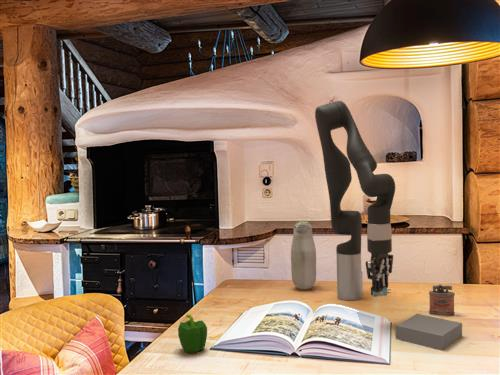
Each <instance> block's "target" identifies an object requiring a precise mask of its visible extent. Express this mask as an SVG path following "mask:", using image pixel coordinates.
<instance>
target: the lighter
mask: <svg viewBox="0 0 500 375" xmlns="http://www.w3.org/2000/svg"><path fill="white" fill-rule="evenodd" d="M428 295H429V310H428V314H429V315H432V316H440V317H454V316H455V315H456V314H455V313H456V312H455V296H456V295H455V292H453V286H452V285H449V284H448V285H442V283H439V284H437V285H436V284H435V285H433V284H432V290H429V291H428Z"/></svg>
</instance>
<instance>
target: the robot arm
mask: <svg viewBox="0 0 500 375" xmlns="http://www.w3.org/2000/svg"><path fill="white" fill-rule="evenodd" d="M314 118H315V119H314V120H315V124H316V128H317V134H318V137H319V141H320V147H321V151H322V156H323V157H322V158H323V166H324V167H323V168H324V174H325V180H326V181H325V182H326V185H327V190H328V191H327V192H328V198H329V208H330V210H329V211H330V223H331V229H332V231H333V233H334V234H335V235H341V236H350V239H349V240H347V241H345V242H341V243H339V244H337V245H336V248H335V249H336V250H335V251H336V254H335V255H336V295H337V298H338V299H340V300H344V301H358V300H361V299H362V298H363V294H364V291H363V288H364V287H363V271H362V227H363V225H362V224H363V223H362V221H363V219H362V215H361V212H360V211H359V210H344V209H343V210H342V209H341V204H342V200H343V198H344V196H345V194H346V192H347V191H348V189H349V187H350V185H351V183H352V178H353V177H352V170H351V166H352V167H353V168H354V171H356V176H357V179H358V182H359V186H360V189H361V191H362V193H364V195H366V196H368V197H369V198H376V199H375V201H374V203H372V204H370V205H369V206H368V207H367V227H366V228H367V229H366V233H367V234H366V237H367V238H366V239H367V240H366V241H367V243H366V244H367V247H366V248H367V252H368V253H370V255H371V256H370V260H366V261H365V269H366V277H367V280H371V287H372V291H373V292H379V291H380V283H379V278H380V274H381V273H382V268H383V265H384V267H387V273H386V274H384V276H385V287H387V289H389V277H390V274H392V272H393V263H394V255H393V254H390V253H391V252H392V250H393V245H392V244H393V241H392V240H393V239H392V233H393V232H392V225H391V210H392V206H393V205H392V204H393V200H394V197H395V193H396V182H395V179H394V178H393V176H392V175H390V174H389V173H379V174H378V173H377V174H374V172H375V171H376V169H377V167H378V163H377V160H376V158H375V157H374V156H373V154H372V153H371V151H370V150H369V148H368V147H367V145H366V144H365V141H364V140H363V138H362V135H361V134H360V131H359V129H358V126H357V124H356V122H355V119H354V117H353V115H352V113H351V111H350V109H349V108H348V106H347V104H346V103H345V102H344V101H342V100H336V101H332V102H329V103H325V104H322V105H319V106H317V107H315V111H314ZM341 128H344V130H345V132H346V136H347V139H346V140H347V141H346V151H345V152H346V155H347V156H346V155H345V153H343V152H342V151H341V150H340V149H339V147H338V146H337V145H336V143H335V142H334V139H333V137H332V136H333V135H332V131H334V130H337V129H341ZM375 269H379V270H375ZM376 273H377V276H376Z"/></svg>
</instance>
